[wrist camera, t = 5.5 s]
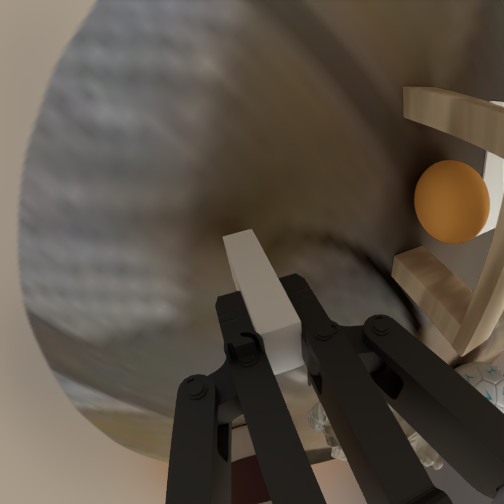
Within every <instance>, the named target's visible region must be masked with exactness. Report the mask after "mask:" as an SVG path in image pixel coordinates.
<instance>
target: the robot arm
mask: <svg viewBox="0 0 504 504" xmlns="http://www.w3.org/2000/svg"><path fill="white" fill-rule="evenodd" d="M223 241H224V245H225V249H226V253H227V257H228V261H229V265H230V269H231V273H232V277H233V280H234V283H235V286H236V289H237V292H233V293H230V294H226V295H223V296H219V297H218V298H217V302H216V305H215V307H216V311H217V315H218V319H219V323H220V327H221V331H222V335H223V339H224V351H225V354H226V360H225V362H224V364H223V365H222V366H221V368H219V369H218V370H217V371H215V372H214V373H212V374H210V375H209V376H206V375H200V374H197V375H192V376H189V377H188V378H186V379H184V380H183V382H182V383H181V384H180V386H179V389H178V392H177V400H176V408H175V415H174V424H173V432H172V441H171V450H170V459H169V469H168V480H167V491H166V503H165V504H231V446H232V420H234V419H235V418H237V417H239V416H240V415H242V414H244V417H245V421H246V424H247V427H248V431H249V434H250V437H251V440H252V444H253V447H254V450H255V453H256V456H257V459H258V462H259V466H260V469H261V472H262V475H263V478H264V481H265V484H266V487H267V490H268V493H269V496H270V498H271V501H272V504H326V501H325V499H324V497H323V494H322V492H321V490H320V487H319V485H318V482H317V480H316V477H315V475H314V473H313V470H312V468H311V465H310V463H309V460H308V458H307V456H306V453H305V451H304V448H303V446H302V443H301V441H300V438H299V436H298V433H297V431H296V428H295V426H294V423H293V421H292V418H291V416H290V413H289V411H288V408H287V406H286V403H285V401H284V398H283V396H282V393H281V391H280V388H279V386H278V383H277V380H276V378H275V375H277V374H280V373H283V372H286V371H289V370H292V369H295V368H298V367H301V366H303V360H304V362H305V364H306V366H307V370H308V385H309V386H310V385H311V383H312V385H313V388H314V390H315V392H316V394H317V396H318V398H319V400H320V403H321V405H322V407H323V409H324V411H325V413H326V416H327V418H328V420H329V422H330V424H331V426H332V428H333V431H334V433H335V435H336V437H337V439H338V441H339V443H340V446H341V448H342V450H343V452H344V454H345V456H346V459H347V461H348V463H349V465H350V467H351V469H352V471H353V473H354V476H355V478H356V480H357V482H358V484H359V486H360V488H361V491H362V493H363V495H364V497H365V499H366V501H367V504H453V503H452V501H451V500H450V498H449V497H448V495H447V494H446V493H444V491H442V490H440V489H437V488H436V487H435V486H434V485H433V483H432V481H431V480H430V478H429V476H428V474H427V472H426V470H425V469H424V467H423V465H422V463H421V461H420V460H419V458H418V456H417V454H416V452H415V451H414V449H413V447H412V445H411V444H410V442H409V440H408V438H407V437H406V435H405V433H404V431H403V430H402V428H401V426H400V424H399V423H398V421H397V419H396V417H395V416H394V414H393V412H392V411H391V409H390V407H389V406H388V404H389V405H390V406H391V407H392V408H393V409H394V410H395V411H396V412H397V413H398V414H399V415H400V416H401V417H402V418H403V419H404V420H405V421H406V422H407V423H408V424H409V425H410V426H411V427H412V428H413V429H414V430H415V431H416V432H417V433H418V434H419V435H420V436H421V437H422V438H423V439H424V440H425V441H426V442H427V443H428V444H429V445H430V446H431V447H432V448H433V449H434V450H435V451H436V452H437V453H438V454H439V455H440V456H441V457H442V458H443V459H444V460H445V461H447V463H449V464H450V465H451V466H452V467H453V468H454V469H455V470H456V471H457V472H458V473H459V474H460V475H461V476H462V477H463V478H464V479H465V480H466V481H467V482H468V483H469V484H470V485H471V486H472V487H474V488H475V489H476V490H477V491H479V492H481V493H482V494H484V495H486V496H488V497H490V498H493V499H494V500H493V501H492V502H491V504H504V413H503V412H502V411H500V410H499V409H498V408H497V407H496V406H495V405H494V404H493V403H491V402H490V401H489V400H488V399H487V398H486V397H485V396H484V395H482V394H481V393H480V392H479V391H478V390H477V389H476V388H475V387H473V386H472V385H471V384H470V383H469V382H468V381H466V380H465V379H464V378H463V377H462V376H461V375H460V374H458V373H457V372H456V371H455V370H454V369H453V368H451V367H450V366H449V365H448V364H447V363H446V362H444V361H443V360H442V359H441V358H440V357H438V356H437V355H436V354H435V353H434V352H432V351H431V350H430V349H429V348H428V347H427V346H425V345H424V344H423V343H422V342H421V341H419V340H418V339H417V338H416V337H414V336H413V335H412V334H411V333H410V332H408V331H407V330H406V329H405V328H404V327H402V326H401V325H400V324H399V323H397V322H396V321H395V320H394V319H392V318H391V317H389V316H386V315H381V314H380V315H374V316H371V317H369V318H368V319H367V320H366V321H365V323H364V325H361V326H341V325H338V324H337V323H336V322H334V321H331V320H330V318H329V317H328V316H327V314H326V312H325V311H324V309H323V307H322V306H321V304H320V303H319V301H318V299H317V298H316V296H315V295H314V293H313V291H312V290H311V288H310V287H309V285H308V283H307V282H306V280H305V279H304V278H302V277H301V276H299V275H298V274H296V273H295V274H292V275H288V276H285V277H282V278H278V277H277V275H276V273H275V271H274V270H273V268H272V266H271V264H270V262H269V260H268V258H267V256H266V255H265V253H264V251H263V249H262V247H261V245H260V243H259V241H258V240H257V238H256V236H255V234H254V232H253V230H252V229H249V230H245V231H241V232H238V233H234V234H230V235H227V236H223ZM387 403H388V404H387Z"/></svg>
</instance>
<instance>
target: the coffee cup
mask: <svg viewBox="0 0 504 504" xmlns="http://www.w3.org/2000/svg"><path fill="white" fill-rule="evenodd" d="M231 504H272V501H271V498H270V496H269V493H268V490H267V487H266V484H265V481H264V478H263V475H262V472H261V469H260V466H259V462H258V459H257V456H256V453H255V450H254V447H253V444H252V440H251V437H250V434H249V431H248V427H247V425H244V426H240V427H237V428H234V429H232V446H231Z"/></svg>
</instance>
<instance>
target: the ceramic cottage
mask: <svg viewBox="0 0 504 504" xmlns="http://www.w3.org/2000/svg"><path fill="white" fill-rule="evenodd" d="M387 404H388V403H387ZM388 406H389V407H390V409H391V411H392V412H393V414H394V416H395V417H396V419H397V421H398V423H399V424H400V426H401V428H402V430H403V431H404V433H405V435H406V437H407V438H408V440H409V442H410V444H411V445H412V447H413V449H414V451H415V452H416V454H417V456H418V458H419V460H420V461H421V463H422V464H424V465H425V466H426V467H428V466H430V465H433V467H434V469H436V470H437V469H440V468H441V467H442V466H443V463H442V462H441V460H440V459H439V456H438V453H437V452H436V451H435V450H434V449H433V448H432V447H431V446H430V445H429V444H428V443H427V442H426V441H425V440H424V439H423V438H422V437H421V436H420V435H419V434H418V433H417V432H416V431H415V430H414V429H413V428H412V427H411V426H410V425H409V424H408V423H407V422H406V421H405V420H404V419H403V418H402V417H401V416H400V415H399V414H398V413H397V412H396V411H395V410H394V409H393V408H392V407H391V406H390V405H389V404H388ZM308 420H309V422H310V424H311V426H312V428H313V429H314V430H315V431H316V432H320V431H323V432H324V434H325V436H326V441H327V444H328V445H331V447H332V453H331V456H332V457H334V458H338V459H339V460H343V461H347V459H346V456H345V454H344V452H343V450H342V448H341V446H340V443H339V441H338V439H337V437H336V435H335V433H334V431H333V428H332V426H331V424H330V422H329V420H328V418H327V416H326V413H325V411H324V409H323V407H322V405H321V403H320V402H319V403H317V404H316V405H315V406H314V407H313V408H312V410H311V411H309V415H308Z"/></svg>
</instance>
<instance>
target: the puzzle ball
mask: <svg viewBox="0 0 504 504" xmlns="http://www.w3.org/2000/svg"><path fill="white" fill-rule="evenodd" d="M454 370H455V371H456V372H457V373H458V374H460V375H461V376H462V377H463V378H464V379H465V380H466V381H468V382H469V383H470V384H471V385H472V386H473V387H475V388H476V389H477V390H478V391H479V392H480V393H481V394H482V395H484V396H485V397H486V398H487V399H488V400H489V401H490V402H491V403H493V404H494V405H495V406H496V407H497V408H498V409H499V410H500V411H502V412H503V413H504V374H502V373H501V371H500V370H499V369H498V368H497V367H495V366H493V365H491V364H489V363H487V362H471V363H467V364H464V365H461V366H459V367H457V368H455V369H454Z"/></svg>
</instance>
